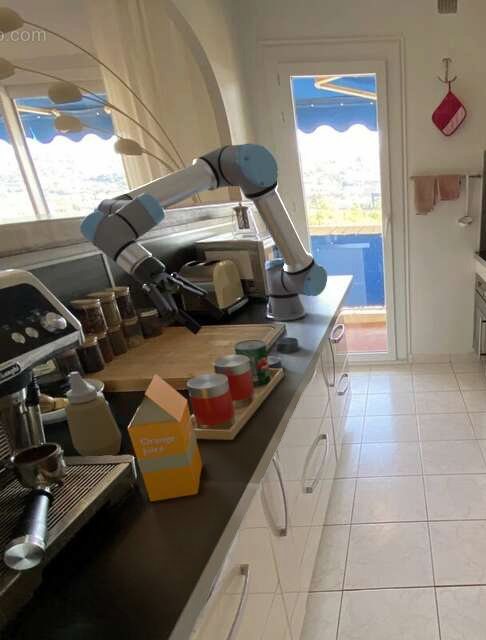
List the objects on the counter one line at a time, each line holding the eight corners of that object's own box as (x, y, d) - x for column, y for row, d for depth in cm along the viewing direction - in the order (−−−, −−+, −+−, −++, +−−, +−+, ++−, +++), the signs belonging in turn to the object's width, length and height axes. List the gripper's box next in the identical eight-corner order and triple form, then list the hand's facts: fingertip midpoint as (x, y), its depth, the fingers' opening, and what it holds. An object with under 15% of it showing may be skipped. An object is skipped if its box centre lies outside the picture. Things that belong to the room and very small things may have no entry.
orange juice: (149, 501, 77) (116, 397, 68) (159, 473, 84) (130, 375, 76) (198, 493, 79) (172, 391, 70) (203, 466, 86) (181, 370, 78)
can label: (229, 394, 114) (221, 354, 110) (260, 395, 114) (254, 355, 109) (215, 409, 107) (206, 366, 102) (248, 410, 107) (240, 367, 102)
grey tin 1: (262, 365, 134) (260, 355, 133) (284, 365, 134) (283, 356, 133) (253, 374, 128) (252, 364, 127) (277, 374, 128) (276, 365, 126)
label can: (207, 416, 104) (198, 372, 99) (241, 417, 103) (233, 373, 98) (190, 434, 96) (179, 388, 92) (227, 435, 96) (217, 389, 91)
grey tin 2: (281, 345, 150) (279, 337, 149) (301, 346, 150) (300, 337, 149) (274, 352, 144) (273, 343, 143) (295, 353, 144) (294, 344, 142)
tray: (243, 375, 127) (242, 367, 126) (283, 376, 126) (282, 368, 125) (179, 439, 95) (176, 429, 94) (232, 441, 95) (230, 431, 94)
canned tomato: (238, 380, 123) (231, 342, 118) (267, 375, 126) (262, 337, 121) (243, 390, 117) (236, 351, 112) (273, 385, 120) (268, 346, 115)
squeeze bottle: (69, 463, 87) (35, 379, 79) (103, 442, 94) (75, 363, 86) (103, 469, 85) (72, 383, 78) (135, 447, 93) (110, 366, 85)
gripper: (161, 267, 127) (222, 319, 133) (103, 286, 105) (179, 348, 111) (175, 248, 125) (236, 302, 131) (118, 263, 102) (195, 327, 108)
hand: (210, 323), depth 121 cm, fingers open, 13 cm apart
